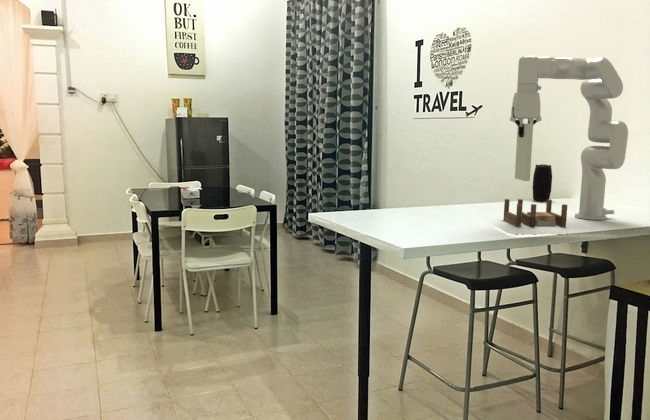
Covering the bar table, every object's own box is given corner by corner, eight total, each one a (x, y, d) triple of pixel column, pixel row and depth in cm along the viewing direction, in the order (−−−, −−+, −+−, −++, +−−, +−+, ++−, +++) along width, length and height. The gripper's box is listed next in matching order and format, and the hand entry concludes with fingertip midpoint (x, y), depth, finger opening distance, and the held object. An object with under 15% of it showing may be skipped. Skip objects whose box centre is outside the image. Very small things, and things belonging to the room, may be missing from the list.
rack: (548, 223, 233) (550, 199, 231) (565, 230, 217) (567, 204, 216) (503, 222, 233) (504, 199, 231) (516, 230, 217) (518, 204, 215)
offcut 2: (543, 221, 230) (543, 216, 229) (555, 226, 220) (555, 221, 220) (525, 221, 229) (525, 216, 229) (536, 226, 219) (537, 221, 219)
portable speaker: (553, 202, 296) (556, 165, 293) (536, 202, 295) (538, 165, 292) (545, 200, 304) (547, 164, 301) (528, 200, 303) (531, 164, 300)
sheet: (519, 178, 228) (522, 123, 224) (529, 181, 217) (533, 123, 213) (514, 178, 228) (517, 123, 224) (524, 181, 217) (528, 123, 213)
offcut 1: (545, 216, 229) (545, 212, 229) (554, 221, 219) (555, 216, 219) (527, 216, 229) (527, 211, 229) (535, 220, 219) (536, 215, 219)
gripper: (543, 89, 220) (540, 137, 223) (503, 89, 220) (501, 136, 223) (551, 88, 213) (548, 137, 216) (510, 88, 213) (507, 137, 216)
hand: (524, 136), depth 219 cm, fingers closed on sheet, 2 cm apart
